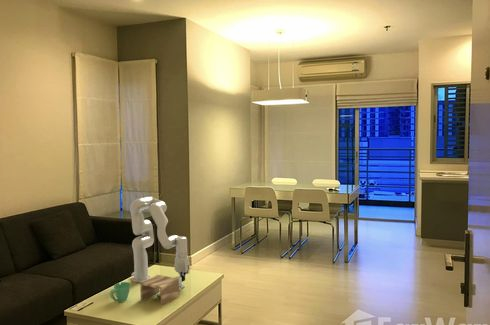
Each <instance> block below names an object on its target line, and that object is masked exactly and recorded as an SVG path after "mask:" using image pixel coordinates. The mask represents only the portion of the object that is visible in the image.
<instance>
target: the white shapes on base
mask: <svg viewBox="0 0 490 325" xmlns="http://www.w3.org/2000/svg"><path fill="white" fill-rule="evenodd" d="M174 278H177V279H179V291H181V290H183V289H184V288H186V287H185V285H183V283H182V277H180V275H179V276H175V277H174ZM156 296H157V297H159V298H161V295H160V292H158V293H156Z"/></svg>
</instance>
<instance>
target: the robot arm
mask: <svg viewBox="0 0 490 325" xmlns="http://www.w3.org/2000/svg"><path fill="white" fill-rule="evenodd" d="M167 209H168V206H167V204H166V203H165V202H164V201H163V200H160V199H159V198H158V199H157V198H155V197H154V196H144V197H140V198H136V199H135V200H133V201H132V202H130V205H129V211H130V216H131V228H132V233H133V234H134V235H135V236H137V237H135V238H134V239H133V240H132V243H131V247H132V251H133V264H134V266H133V268H134V269H133V270H134V271H133V272H132V273H131V275H130V276H132V282H133V283H140V282H142V281H144V280H146V279H148V278H151V276H150V275H149V267H148V266H149V264H148V263H149V262H148V259H149V258H148V252H147V250H146V248H147V249H148V248H149V247H151V246H152V245H153V244H154V242H155V237H154V236H155V235H154V228H153V224H152V222H151V221H150V220H149V219H145V215H144V213H143V212H142V211H144V210H148V211H149V213H150V216H151V217H152V219H153V221H154V223H155V225H156V227H157V229H156V233H157V234H156V235H157V239H158V241H159V242H160V244H161V246H162V248H164V249H166V250H169V249H172V248H174V247H175V255H176V256H175V258H174V271H175V272H176V273H178V275H179V276H180V277H182V282H185V281H186V275H188V274H190V269H191V268H190V267H191V266H190V259H189V256H188V238H187V237H186V236H181V235H176V234H172V235H169V236H168V235H167V233H166V227H167V225H168V223H169V220H168V217H167V216H166V214H165V212H166V211H168V210H167Z"/></svg>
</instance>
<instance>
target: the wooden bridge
mask: <svg viewBox="0 0 490 325" xmlns="http://www.w3.org/2000/svg"><path fill="white" fill-rule="evenodd" d="M139 288H140V289H139V290H140V300H141V301H144V300H146V299H148V298H150V297H152V296H154V295H155V294H156V295H157V294H158V293H160V295H161V297H160V306H164V305H165V304H168V303H170V302H171V301H173V300H174V299H177V298H178V297H180V290H179V279H177V278H175V277H172V276H167V275H166V276H165V275H161V274H155V275H153V276H152V277H151V276H150V278H148V279H146V280H144V281H142V282H139Z"/></svg>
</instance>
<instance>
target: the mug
mask: <svg viewBox="0 0 490 325" xmlns="http://www.w3.org/2000/svg"><path fill="white" fill-rule="evenodd" d="M113 288H114V289H111V290H110V292H109V293H110V298H111V299H112V300H113V301H115V302H126V301H127V299H128V296H129V293H130V288H131V283H130V282H128V281H124V282H123V281H122V282H120V283H119V282H117V283H115V284H114V285H113ZM114 293H115V295H116V296H115V297H114Z"/></svg>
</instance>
